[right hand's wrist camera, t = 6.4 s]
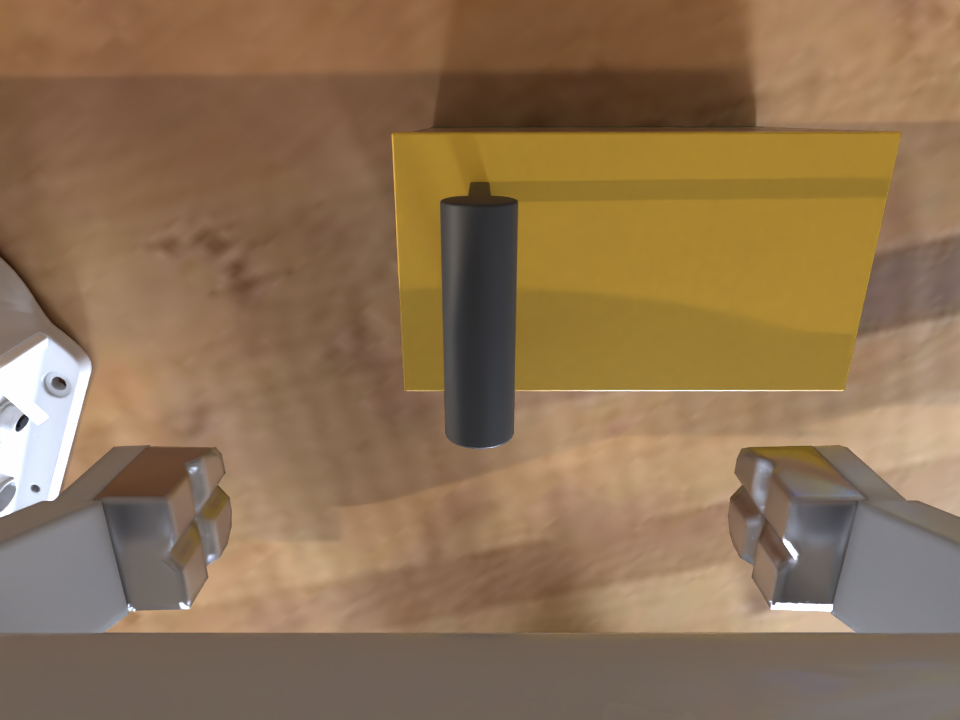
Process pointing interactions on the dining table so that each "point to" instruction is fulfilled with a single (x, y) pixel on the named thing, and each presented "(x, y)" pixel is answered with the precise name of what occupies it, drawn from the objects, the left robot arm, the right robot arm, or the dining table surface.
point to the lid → (631, 262)
